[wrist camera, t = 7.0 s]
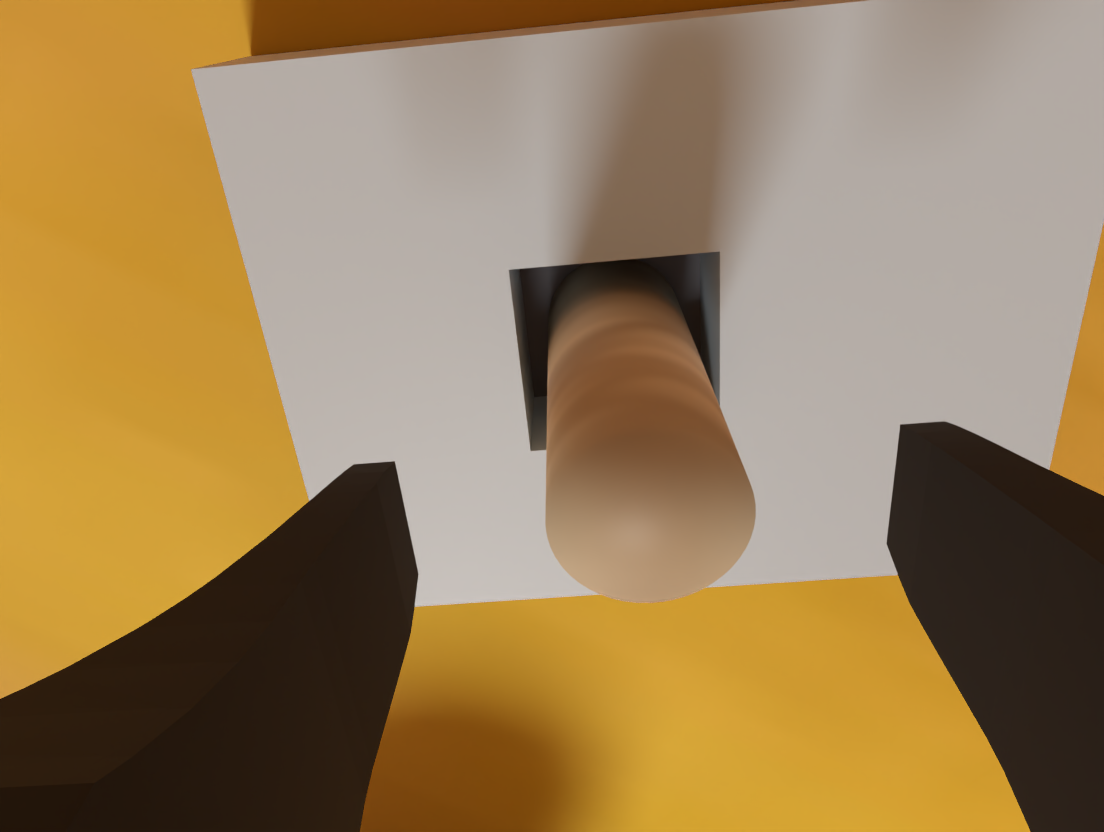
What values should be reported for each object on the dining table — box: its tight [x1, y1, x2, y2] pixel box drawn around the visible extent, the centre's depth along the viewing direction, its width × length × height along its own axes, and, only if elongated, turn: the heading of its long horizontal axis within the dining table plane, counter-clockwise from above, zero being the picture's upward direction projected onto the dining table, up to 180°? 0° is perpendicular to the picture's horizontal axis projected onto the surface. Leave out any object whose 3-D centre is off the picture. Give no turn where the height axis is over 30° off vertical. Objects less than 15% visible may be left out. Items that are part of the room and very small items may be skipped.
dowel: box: [545, 259, 756, 603], centre depth 15 cm, size 3×3×8 cm
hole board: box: [191, 0, 1104, 607], centre depth 18 cm, size 16×12×3 cm
